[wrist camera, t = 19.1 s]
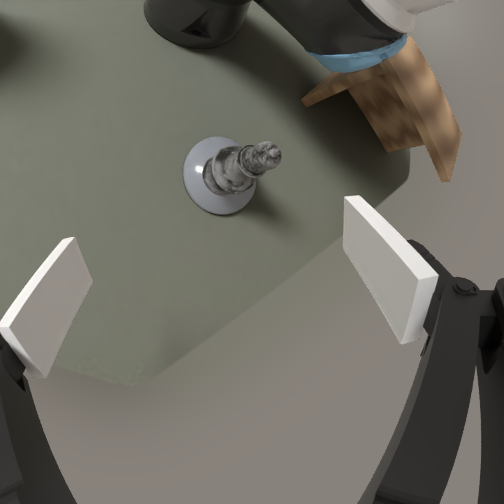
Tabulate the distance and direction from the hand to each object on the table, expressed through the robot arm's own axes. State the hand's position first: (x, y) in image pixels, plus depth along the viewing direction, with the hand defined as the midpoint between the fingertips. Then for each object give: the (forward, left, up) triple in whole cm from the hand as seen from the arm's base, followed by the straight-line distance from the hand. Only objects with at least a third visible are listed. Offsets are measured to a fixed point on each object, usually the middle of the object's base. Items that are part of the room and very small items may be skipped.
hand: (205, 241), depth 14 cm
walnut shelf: (+12, +42, -22) cm, 48 cm away
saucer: (+2, +14, -22) cm, 26 cm away
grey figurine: (+2, +13, -21) cm, 25 cm away
